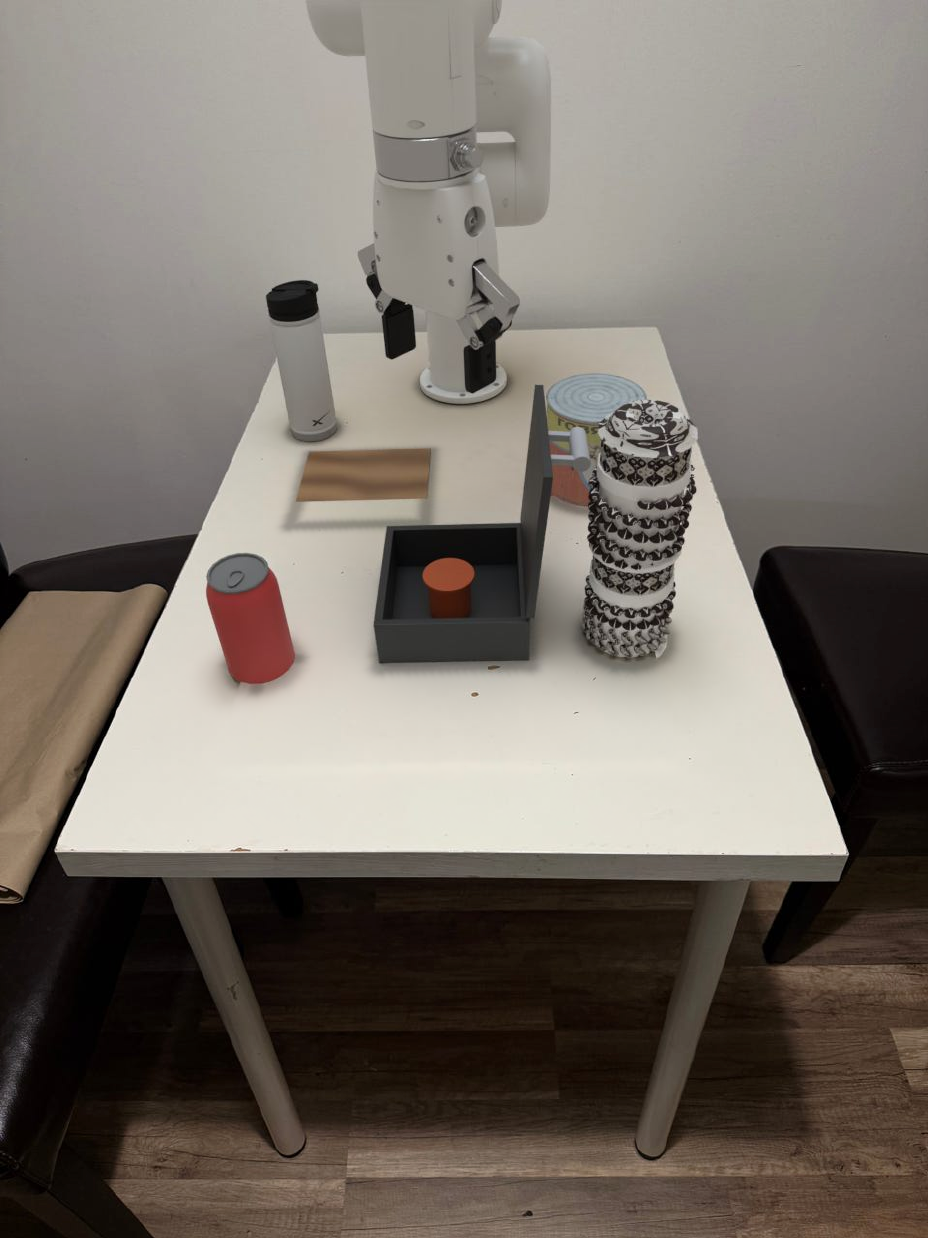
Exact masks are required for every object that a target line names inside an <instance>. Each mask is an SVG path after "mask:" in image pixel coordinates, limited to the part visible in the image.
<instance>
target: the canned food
mask: <svg viewBox="0 0 928 1238" xmlns="http://www.w3.org/2000/svg"><path fill="white" fill-rule="evenodd" d="M545 396H546V397H545V401H546V414H547V424H548V431H563V432H569V431H570V430H571V429H572V428H574V427H581V428H583V429H584V430H585V432H586V437H587V443H588V450H589V456H590V462H591V465H590V467H589V469H588V470H586V471H584V472H578V471H576V470H574V469H573V467H572V466H559V465H552V471H553V482H552V490H551V496H554V497H555V498H557V499H559V500H561V501H562V502H565V503H568V504H571V505H575V506H578V507H579V506H580V507H587V508H588V503H589V502H590V500H589V498H588V494H589V491H590V489H591V488H590V487H589V484H588V482H589V479H590V478H591V477H593V475H592V472H593V470H594V469H595V468H596V467H597V463H598V456H599V453H600V449H601V437H600V436H599V434H598V428H599V423H600V422H601V421H602V420H603V419H604V418H605V417H606V416H607V415H609V414H611V413H613V412H615V411H616V410H617V409H618V408H619V407H620V406H621V405H624V404H626V403H629V402H631V401H636V400H643V399H647V400H648V397H647V393H646V392H645V389H643V387H641V386H640V385H639V384H638V383H636V382H634V381H633V380H630V379H628V378H627V377H623V376H620V375H615V374H609V373H600V372H599V373H598V372H597V373H596V372H595V373H594V372H593V373H592V372H591V373H581V374H576V375H571V376H567V377H565V378H563V379H561V380H559V381H557V382H554V384H553V385H552V386H551V387H550V388H549V389H547V392H546V395H545ZM549 443H550V452H551V455H571V453H570V445H569V442H559V441H549ZM597 480H598V479H596V481H597ZM598 492H599V491H598ZM595 501H596V500H595Z"/></svg>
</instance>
